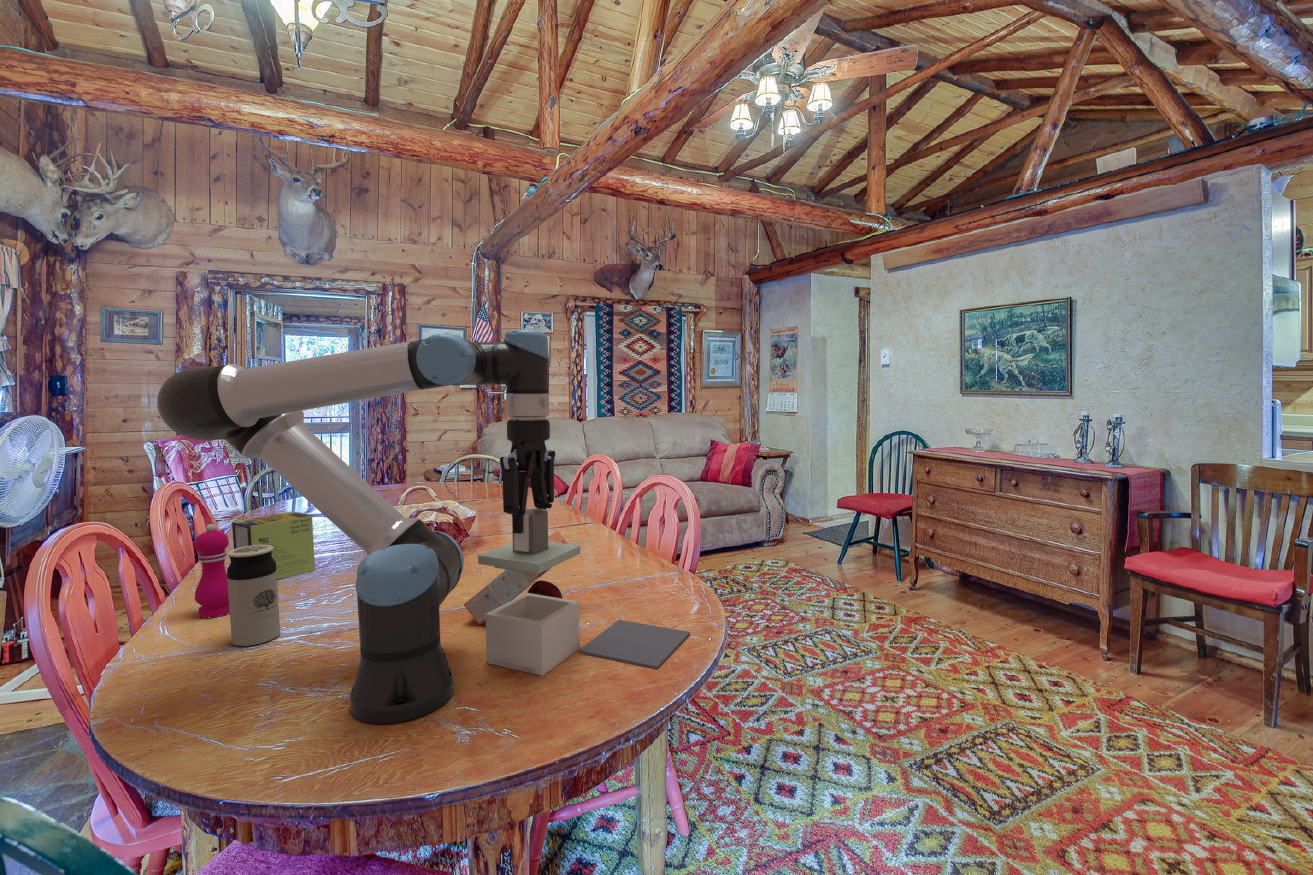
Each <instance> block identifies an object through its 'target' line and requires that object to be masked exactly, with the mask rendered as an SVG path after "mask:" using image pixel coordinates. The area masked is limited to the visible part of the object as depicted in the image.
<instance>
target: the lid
mask: <svg viewBox="0 0 1313 875" xmlns="http://www.w3.org/2000/svg"><path fill="white" fill-rule="evenodd" d="M531 509H532V508H531ZM531 509H528V508H526V512H525V514H528V515H529V551H528V552H524V551H517V550H514V533H513V517H512V516H511V521H512V522H511V523H512V524H511V525H512V529H511V530H512V542H511V543H508V544H505V545H503V546H500V547H498V548H494V549H492V550H489V551H487V552H484V553H481V554H479V555H477V562H478V563H477V564H478V565H482V566H483V565H484V566H489V567H494V568H495V569H500V570H501V569H502V570H505V569H507V570H513V571H519V572H526V573H532V574H538V573H541V572H543V571H545V570H547V569H549V568H551V567H552V568H553V567H555V566H558V565H560V564H562V563H564V562H566V561H568V560H570V559H573V558H574V557H577V556H578V555H580V554H581V545H577V544H570V543H568V544H563V543H555V542H548V536H549V516H548V515H549V512H548V510H547V511H541V510H531ZM552 568H551V569H552Z"/></svg>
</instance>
